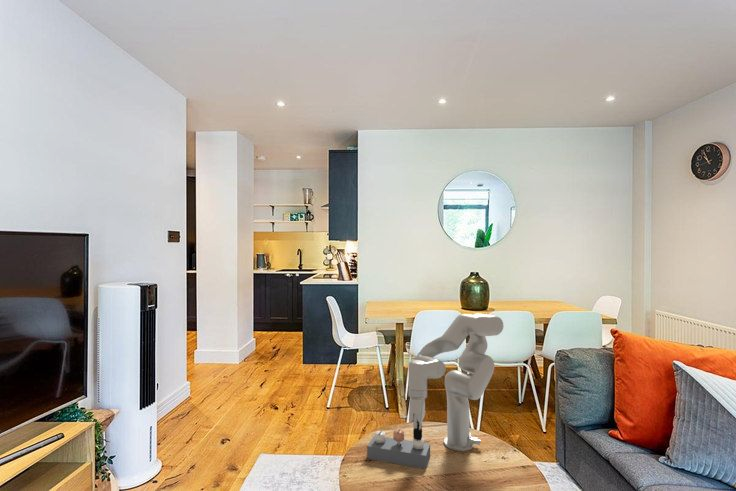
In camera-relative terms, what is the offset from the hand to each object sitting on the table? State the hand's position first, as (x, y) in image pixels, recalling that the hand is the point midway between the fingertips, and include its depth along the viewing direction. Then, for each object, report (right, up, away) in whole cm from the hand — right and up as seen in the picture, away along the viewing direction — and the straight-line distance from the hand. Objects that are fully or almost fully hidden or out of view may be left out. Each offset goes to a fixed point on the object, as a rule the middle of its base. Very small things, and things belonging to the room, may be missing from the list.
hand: (417, 438), depth 154 cm
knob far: (-15, -7, +5) cm, 17 cm away
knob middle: (-7, -5, +3) cm, 9 cm away
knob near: (0, -7, 0) cm, 7 cm away
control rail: (-7, -9, +2) cm, 12 cm away
